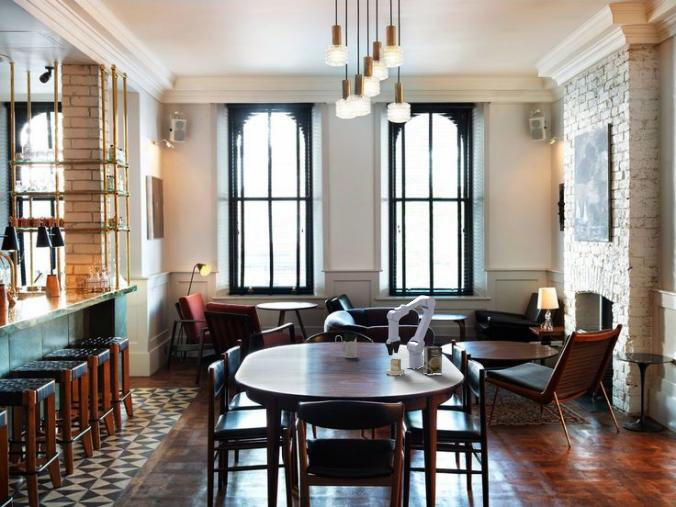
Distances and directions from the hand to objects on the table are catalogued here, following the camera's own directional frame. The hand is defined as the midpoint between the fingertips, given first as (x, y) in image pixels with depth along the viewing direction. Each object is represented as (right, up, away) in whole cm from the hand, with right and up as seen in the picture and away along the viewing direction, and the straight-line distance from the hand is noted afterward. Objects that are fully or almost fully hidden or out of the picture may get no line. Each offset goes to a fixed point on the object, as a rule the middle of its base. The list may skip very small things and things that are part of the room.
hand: (393, 354), depth 393 cm
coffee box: (+22, -11, -8) cm, 26 cm away
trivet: (0, -10, -8) cm, 13 cm away
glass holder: (-27, -8, +42) cm, 51 cm away
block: (+1, -8, -8) cm, 11 cm away
